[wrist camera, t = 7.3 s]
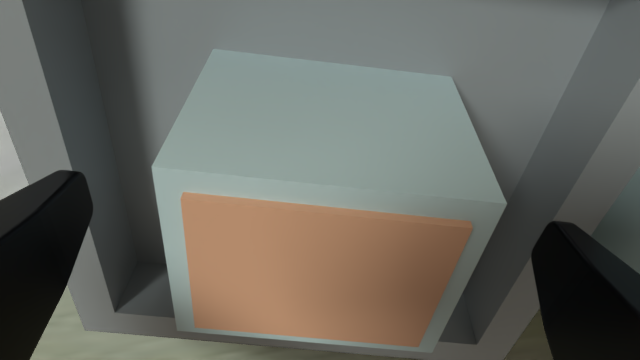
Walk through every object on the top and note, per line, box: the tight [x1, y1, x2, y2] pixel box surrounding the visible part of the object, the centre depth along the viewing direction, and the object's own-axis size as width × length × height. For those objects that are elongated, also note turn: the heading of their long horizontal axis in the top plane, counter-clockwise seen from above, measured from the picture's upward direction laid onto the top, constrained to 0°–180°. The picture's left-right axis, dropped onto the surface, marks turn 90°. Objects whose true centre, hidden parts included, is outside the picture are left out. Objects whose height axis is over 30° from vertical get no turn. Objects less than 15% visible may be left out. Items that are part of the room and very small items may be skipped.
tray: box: [0, 0, 640, 360], centre depth 10 cm, size 12×12×3 cm
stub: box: [152, 49, 507, 353], centre depth 9 cm, size 4×5×4 cm
